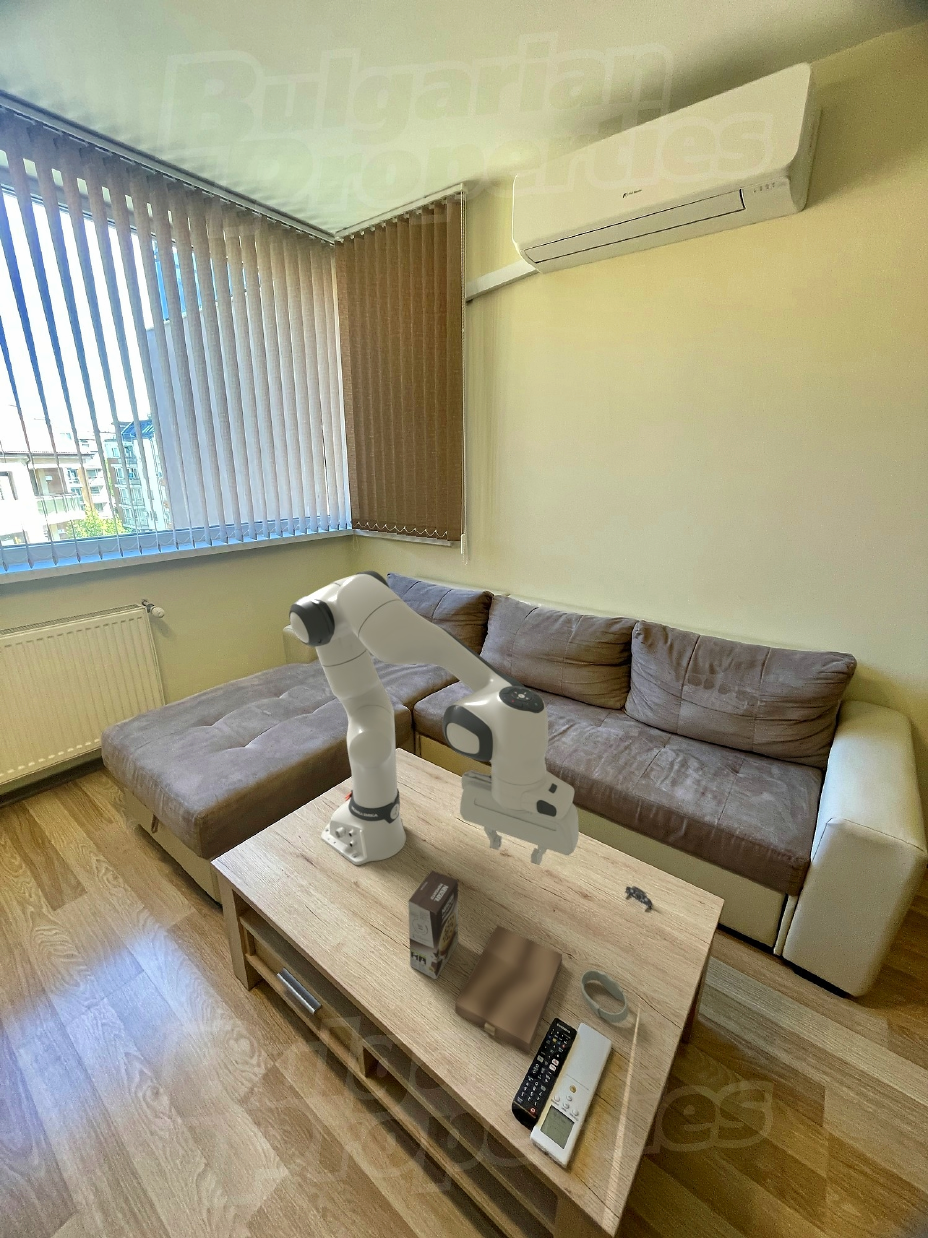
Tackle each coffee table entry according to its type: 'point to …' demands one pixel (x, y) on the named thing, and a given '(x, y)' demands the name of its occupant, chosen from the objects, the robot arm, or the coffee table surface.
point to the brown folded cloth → (510, 988)
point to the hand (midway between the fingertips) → (515, 854)
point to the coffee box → (433, 923)
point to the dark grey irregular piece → (639, 896)
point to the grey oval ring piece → (610, 986)
